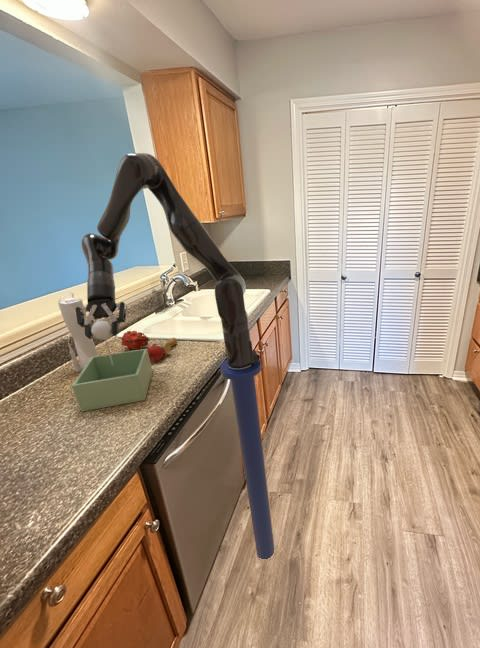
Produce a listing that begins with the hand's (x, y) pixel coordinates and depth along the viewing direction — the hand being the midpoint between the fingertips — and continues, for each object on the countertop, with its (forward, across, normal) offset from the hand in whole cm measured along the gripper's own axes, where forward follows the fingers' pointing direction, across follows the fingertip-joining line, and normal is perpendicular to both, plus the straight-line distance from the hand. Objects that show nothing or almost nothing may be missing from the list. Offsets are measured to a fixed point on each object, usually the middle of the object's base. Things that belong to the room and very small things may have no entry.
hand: (102, 336), depth 98 cm
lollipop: (+6, 0, +9) cm, 11 cm away
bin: (+13, 0, +15) cm, 20 cm away
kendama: (-4, +11, +32) cm, 34 cm away
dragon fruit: (-11, 0, +39) cm, 41 cm away
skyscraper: (-3, -15, +32) cm, 35 cm away
